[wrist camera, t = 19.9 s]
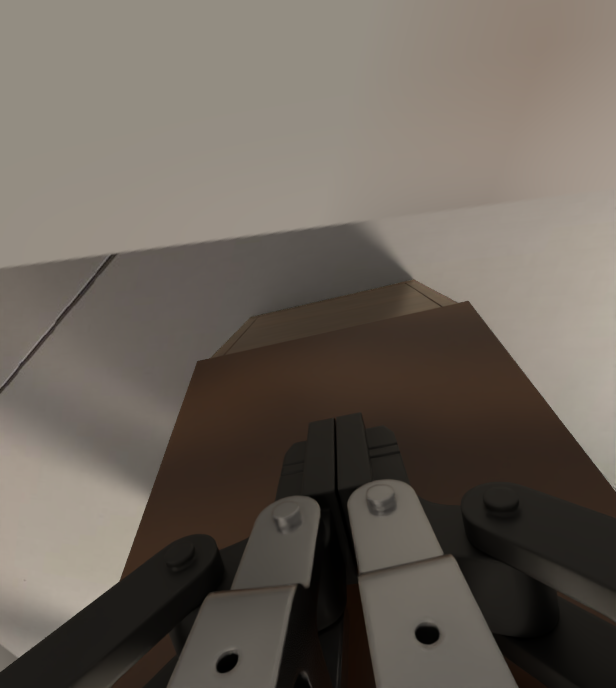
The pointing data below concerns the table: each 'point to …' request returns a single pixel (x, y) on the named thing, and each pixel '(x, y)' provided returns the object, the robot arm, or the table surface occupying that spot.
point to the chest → (334, 315)
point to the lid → (377, 409)
